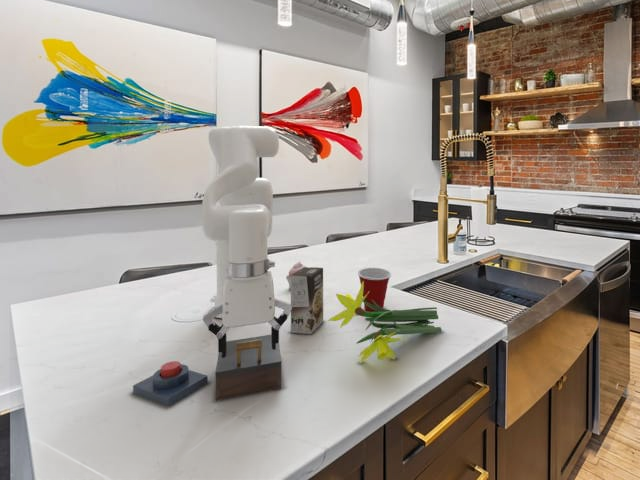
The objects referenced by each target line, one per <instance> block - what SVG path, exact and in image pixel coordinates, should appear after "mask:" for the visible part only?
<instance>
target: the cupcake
mask: <svg viewBox="0 0 640 480" xmlns="http://www.w3.org/2000/svg"><path fill="white" fill-rule="evenodd" d="M304 267H307V266H306V265H305V264H302V263H301V261H299V262H296V263H295V264H294V265H292V268H291V269H289V271H288V275H285V276H286V277H285V279H286V281H287V283H288V287H289V290H290V291H291V275H292V274H294V273H295V272H297V271H299V270H300V269H302V268H304Z"/></svg>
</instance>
